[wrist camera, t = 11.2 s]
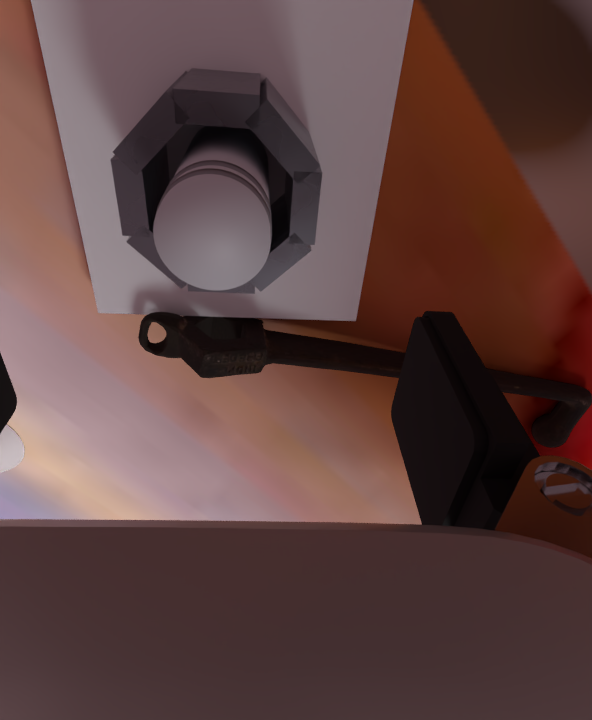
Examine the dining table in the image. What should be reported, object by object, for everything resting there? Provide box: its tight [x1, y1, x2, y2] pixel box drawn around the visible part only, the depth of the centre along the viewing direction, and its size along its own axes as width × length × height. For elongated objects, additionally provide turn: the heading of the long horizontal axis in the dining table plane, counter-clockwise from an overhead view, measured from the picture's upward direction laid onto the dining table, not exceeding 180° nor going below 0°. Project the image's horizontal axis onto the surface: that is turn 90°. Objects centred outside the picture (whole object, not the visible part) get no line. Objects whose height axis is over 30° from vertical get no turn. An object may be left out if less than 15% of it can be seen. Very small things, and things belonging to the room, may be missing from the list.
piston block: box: [31, 0, 413, 321], centre depth 18 cm, size 16×14×10 cm
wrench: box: [139, 312, 592, 448], centre depth 30 cm, size 5×5×30 cm
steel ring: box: [110, 68, 322, 294], centre depth 19 cm, size 7×7×5 cm
